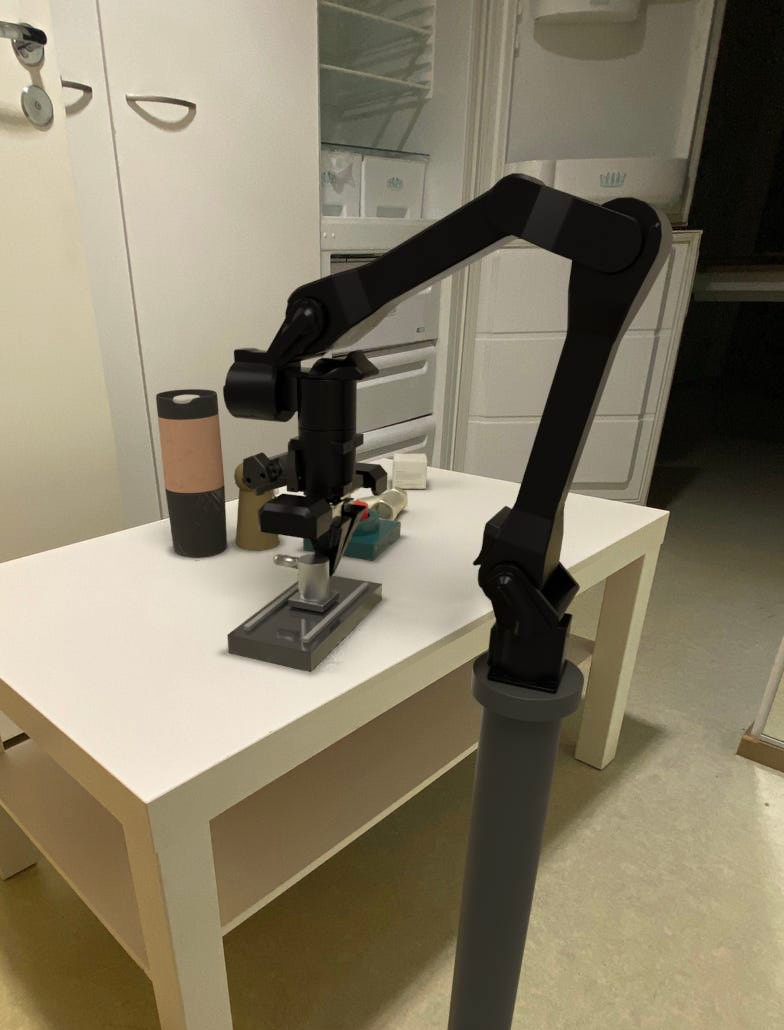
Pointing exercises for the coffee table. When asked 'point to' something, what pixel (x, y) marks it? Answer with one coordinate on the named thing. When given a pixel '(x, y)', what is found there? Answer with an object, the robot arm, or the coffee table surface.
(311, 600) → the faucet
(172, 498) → the travel mug
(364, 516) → the button
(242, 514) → the brown tapered upright piece
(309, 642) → the slide rail base
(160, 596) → the coffee table surface
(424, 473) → the small box
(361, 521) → the button block
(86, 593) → the coffee table surface
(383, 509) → the pipe fitting
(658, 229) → the robot arm
